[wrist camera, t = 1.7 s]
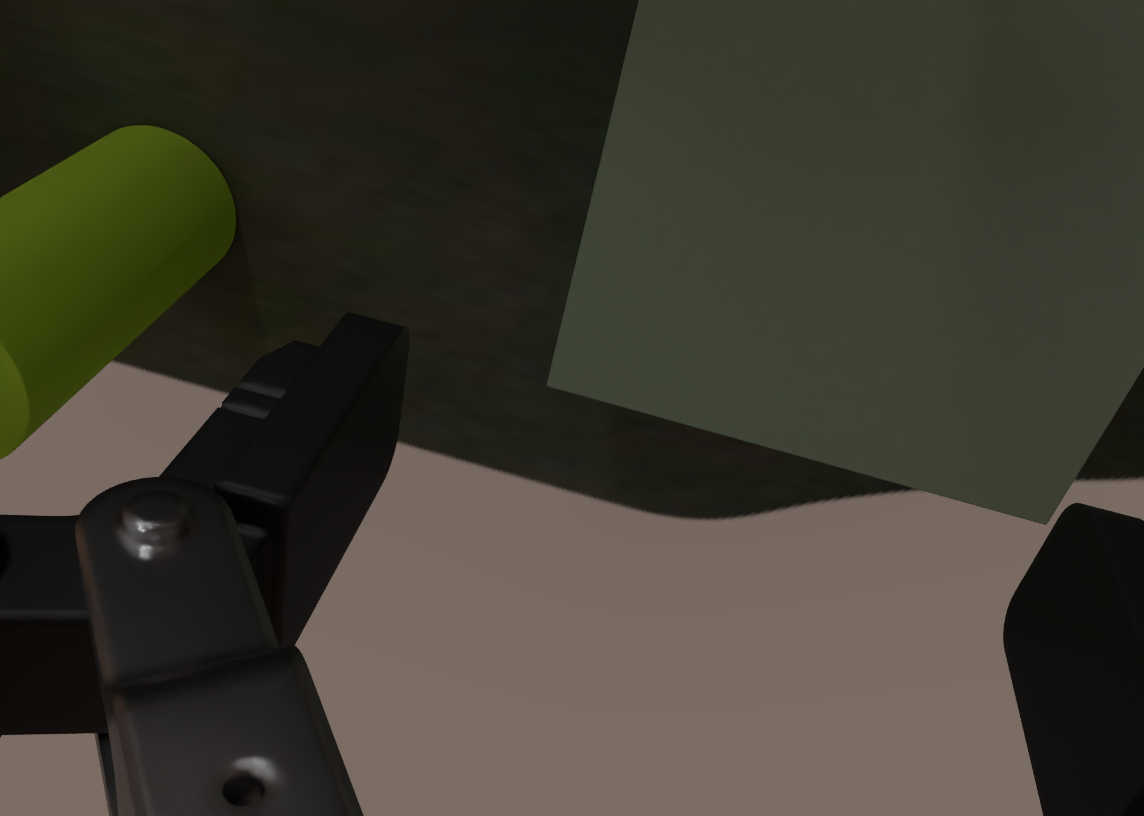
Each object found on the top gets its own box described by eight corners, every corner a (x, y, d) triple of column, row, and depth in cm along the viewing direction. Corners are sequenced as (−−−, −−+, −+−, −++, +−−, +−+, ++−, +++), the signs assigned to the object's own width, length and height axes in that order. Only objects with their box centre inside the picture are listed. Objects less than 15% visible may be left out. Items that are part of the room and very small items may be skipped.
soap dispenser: (286, 210, 39) (-87, 562, 22) (169, 299, 42) (-236, 667, 25) (172, 76, 37) (-330, 355, 20) (58, 179, 40) (-462, 495, 23)
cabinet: (710, -208, 30) (683, -187, 22) (1225, -73, 29) (1374, -6, 22) (593, 257, 38) (546, 386, 30) (995, 368, 38) (1046, 525, 30)
